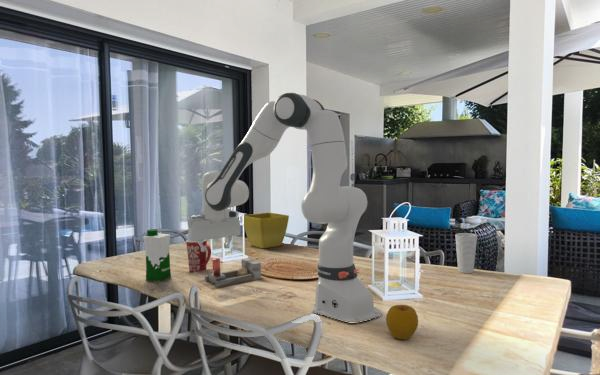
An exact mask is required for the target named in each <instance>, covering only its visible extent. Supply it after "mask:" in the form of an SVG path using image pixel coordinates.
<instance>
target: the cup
mask: <svg viewBox="0 0 600 375" xmlns="http://www.w3.org/2000/svg"><path fill="white" fill-rule="evenodd" d="M477 239H478V235H477V233H476V234H475V233H472V232H471V233H469V232H458V233H455V249H456V260H457V271H458V273H461V274H473V273H474V271H475V260H476V251H477V243H478V242H477V241H478V240H477Z"/></svg>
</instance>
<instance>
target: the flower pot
mask: <svg viewBox="0 0 600 375" xmlns="http://www.w3.org/2000/svg"><path fill="white" fill-rule="evenodd" d="M289 218H290V215H288V214H280V213H277V212H262V213H254V214H253V213H252V214H244V224H243V227H244V231H245V235H246V238H247V239H248V243H249V245H250V246H253V247H255V248H256V247H257V248H260V249H267V248H269V249H270V248H274V247H280V246H282V245H283V242H284V239H285V236H286V233H287V230H288V224H289Z"/></svg>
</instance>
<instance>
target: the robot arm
mask: <svg viewBox="0 0 600 375" xmlns="http://www.w3.org/2000/svg"><path fill="white" fill-rule="evenodd" d="M289 128H294V129H296V130H304V131H306V132H307V133H308V137H309V142H310V143H309V145H310V152H311V161H312V177H311V182H310V185H309V189H308V191H307V192H306V194H305V195H304V196H303V197H302V199H301V200H302V201H301V213H302V215H303V217H304V218H305V220H307V221H308V222H309V223H311V224H312V223H313V224H319V225H321V224H322V225H326V224H327V226H326V229H325V231H324V233H323V234H322V235H321V236H320V237H319V240H318V263H317V269H316V270H317V275H318V279H317V284H316V289H315V297H314V298H315V300H314V307H313V308H312V313H313V314H316V315H319V314H320V315H319V316H322V315H325V316H328V317H332V318H336V319H340V320H343V321H347V322H360V321H365V320H369V319H372V318H375V317H378V316H379V315H380V314H381V313H382V310H381V309H379V308H377V307H375V304H374V298H373V295H372V293H371V291H370V290H369V289H368V288H367V287H366V286H365V285H364V283H363V282H362V281H361V280H360V279H359V277H358V273H360V268H357V269H356V265H355V263H354V240H355V234H356V232H357V231H356V230H357V228H358V225H359V221H360V219H361V216H363V214H364V213H365V212H366V211H367V207H368V197H367V195H366V193H365V192H364V191H363V189H361V188H358V187H354V186H349V185H346V186H345V185H344V186H341V179H342V177H343V176H342V175H343V173H344V172H345V171H346V170H347V168H348V156H347V151H346V150H347V149H346V142H345V135H344V130H343V126H342V122H341V120H340V116H339V114H337V112H335V111H333V110H330V109H325V108H324V106H323V104H322V103H321V102H320V101H318V100H316V99H314V98H313V99H312V98H310V97H309V96H307V95H304V94H299V93H296V92H285V93H282V94H280V95H279V96H278V97H277V99H276V100H272V101H268V102H266V103H265V105H264V106H262V108H261V110H260V111H259V113H258V114H257V116H256V117H255V119H254V121H253V122H252V124H251V126H250V127H249V129H248V131H247V133H246V134H245V136H244V137H243V139H242V140H241V142H240V143H239V144H238V145H237V147H236V148H235V149H234V151H233V152H232V154H230V157H229V158H228V159H227V161H226V163H225V164H224V165H223V167H222V168H221V170H219V169H217V170H211V171H207V172H206V173H204V175H203V176H202V181H201V196H202V199H203V200H202V214H198V215H192V216H191V217H189V218H188V220H187V224H188V225H187V226H188V229H187V238H188V240H189V239H190V240H191V241H198V244H199V245H200V247H201V252H206V247H205V246H203V244H202V243H203V240H207V241H208V240H214V239H223V238H226V239H227V240H226V241H225V243H223V248H224V249H226V250H227V249H229V248H230V244H231V241H232V239H233V237H235V236H236V237H237V236H239V235H240V234H241V232H242V231H241V230H242V229H241V221H240V218H239V212H238V211H237V210H234V209H233V210H232V209H231V208H235V207H237V206H242V205H244V204H245V203H246V202H247V201H248V200H249V196H250V189H249V186H248V185H247V183H246V182H245V181H243V180H241V179H239V178H240V177H241V175H242V174H243V172H244V170H245V169H247V167H248V166H249V165H251V164H252V163H254V162H256V161H258V160H260V159H263V158H266V157H267V156H269V155H271V154H272V153H273V151H275V149H276V148H277V146H278V144H279V143H280V141H281V139H282V137H283V135H284V134H285V132H286V131H287V129H289ZM317 313H318V314H317ZM381 315H382V314H381ZM381 315H380V316H381ZM325 316H324V317H325ZM380 316H379V317H380ZM328 317H327V318H328ZM379 317H378V318H379ZM332 318H331V319H332ZM375 319H376V318H375Z"/></svg>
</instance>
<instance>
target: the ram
mask: <svg viewBox="0 0 600 375" xmlns="http://www.w3.org/2000/svg"><path fill="white" fill-rule="evenodd" d="M211 261H212V263H211V264H212V272H209V273H207V275H208V281H209V282H211V283H212V284H214V285H215V281H218V280H223V279H226V276H225V275H223V274H221V273H222V272H221V258H219V257H214V258H212V260H211Z"/></svg>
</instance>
